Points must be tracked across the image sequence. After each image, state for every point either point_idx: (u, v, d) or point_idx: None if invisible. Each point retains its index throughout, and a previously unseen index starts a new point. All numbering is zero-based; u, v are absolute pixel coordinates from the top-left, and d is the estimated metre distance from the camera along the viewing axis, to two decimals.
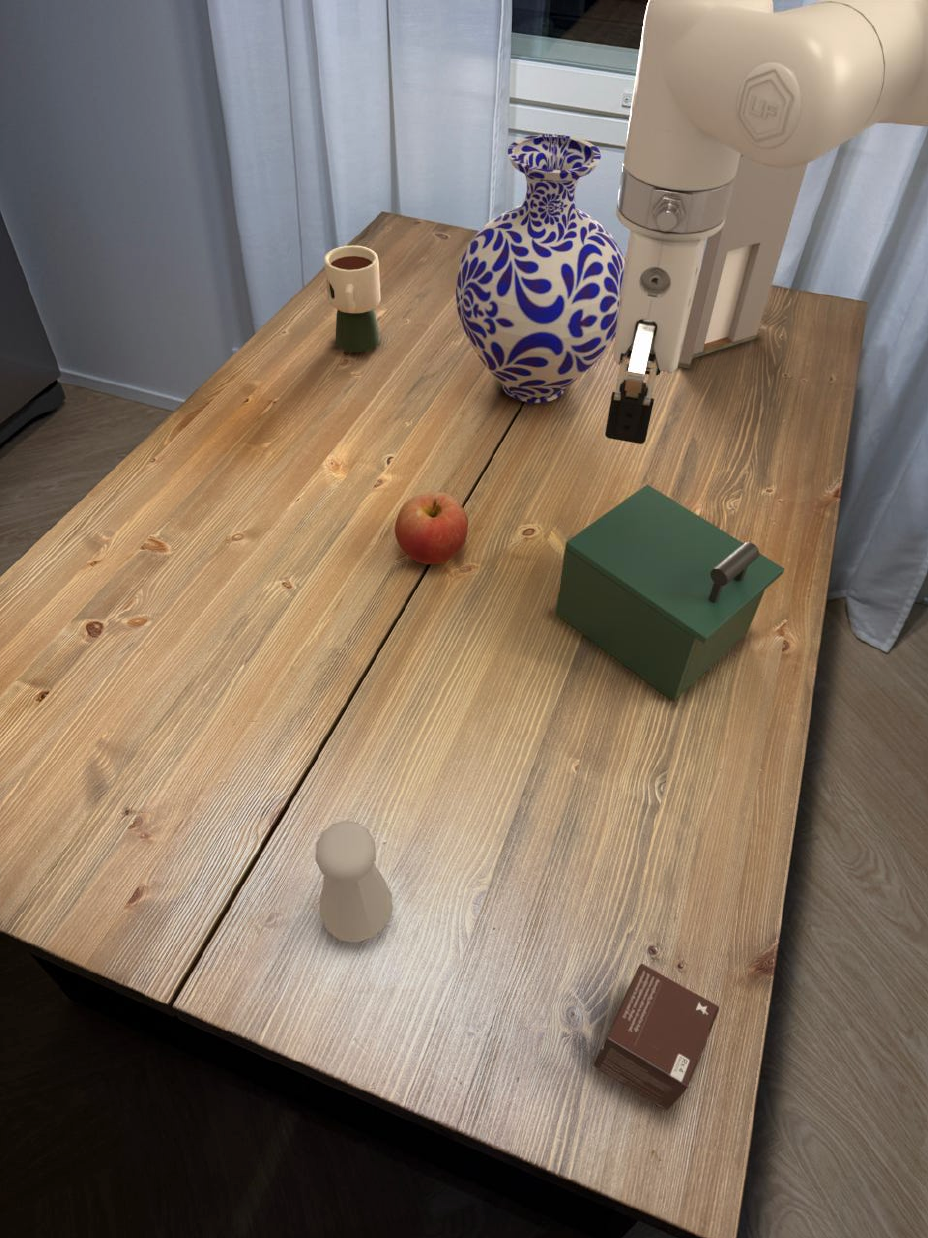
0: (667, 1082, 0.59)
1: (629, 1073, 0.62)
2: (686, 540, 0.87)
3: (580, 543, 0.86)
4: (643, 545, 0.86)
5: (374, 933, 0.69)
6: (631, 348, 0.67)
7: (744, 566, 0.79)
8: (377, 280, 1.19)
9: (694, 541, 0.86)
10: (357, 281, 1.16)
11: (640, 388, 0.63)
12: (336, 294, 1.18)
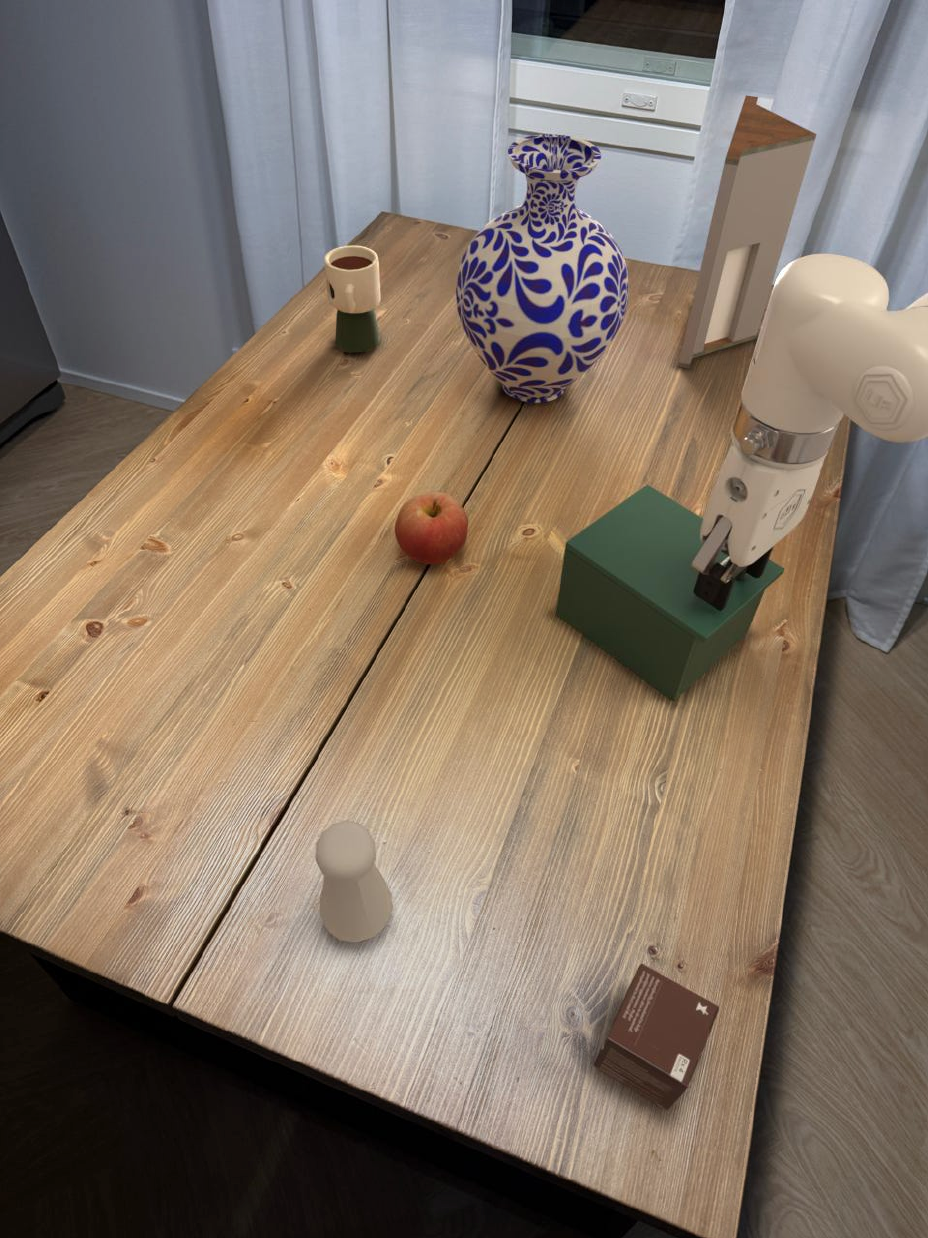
0: (667, 1082, 0.59)
1: (629, 1073, 0.62)
2: (686, 540, 0.87)
3: (580, 543, 0.86)
4: (643, 545, 0.86)
5: (374, 933, 0.69)
6: None
7: (744, 566, 0.79)
8: (377, 280, 1.19)
9: (694, 541, 0.86)
10: (357, 281, 1.16)
11: (705, 574, 0.74)
12: (336, 294, 1.18)
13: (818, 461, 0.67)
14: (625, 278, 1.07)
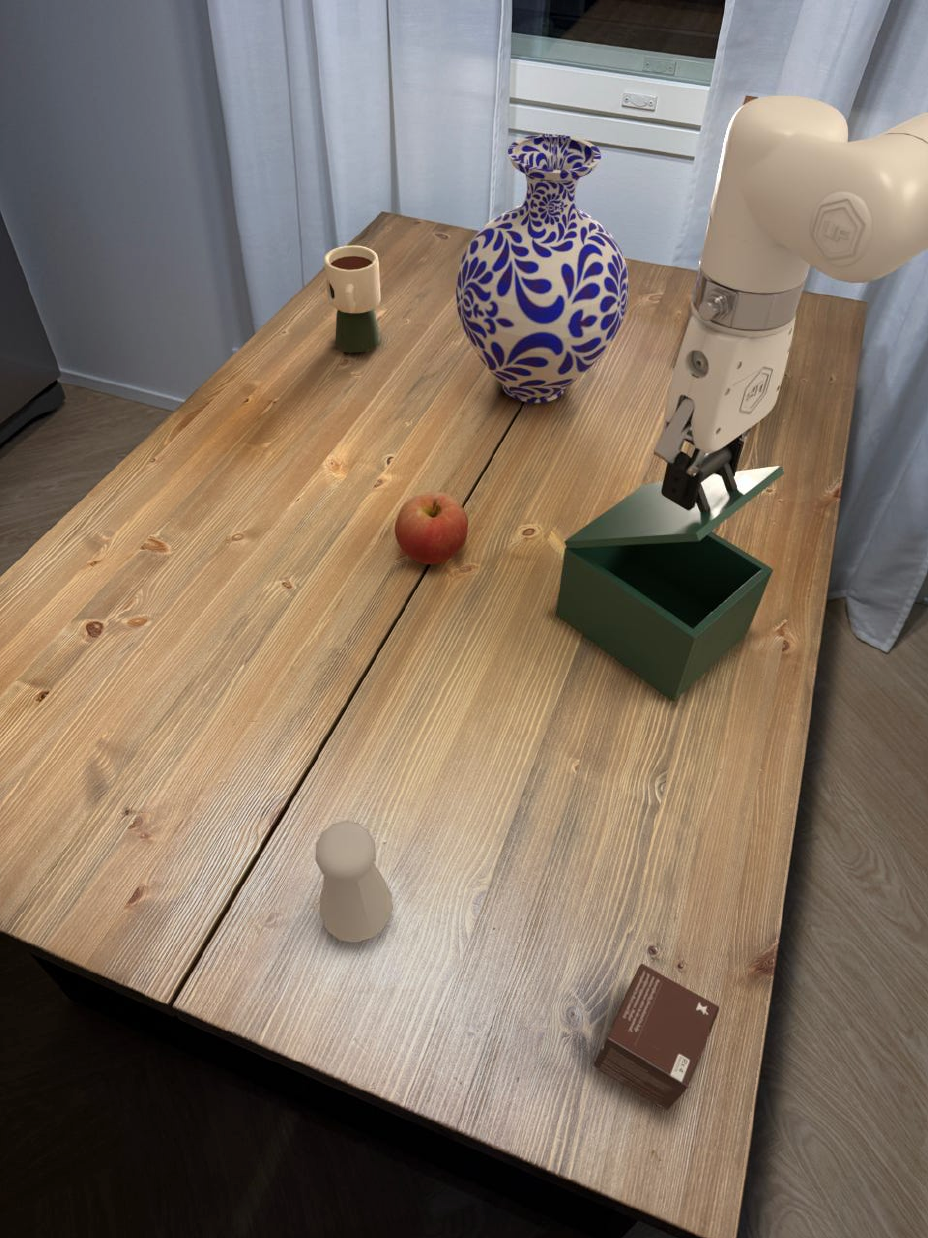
0: (667, 1082, 0.59)
1: (629, 1073, 0.62)
2: None
3: (577, 536, 0.86)
4: (638, 512, 0.84)
5: (374, 933, 0.69)
6: None
7: (714, 461, 0.76)
8: (377, 280, 1.19)
9: None
10: (357, 281, 1.16)
11: (669, 462, 0.70)
12: (336, 294, 1.18)
13: (782, 329, 0.64)
14: (625, 278, 1.07)
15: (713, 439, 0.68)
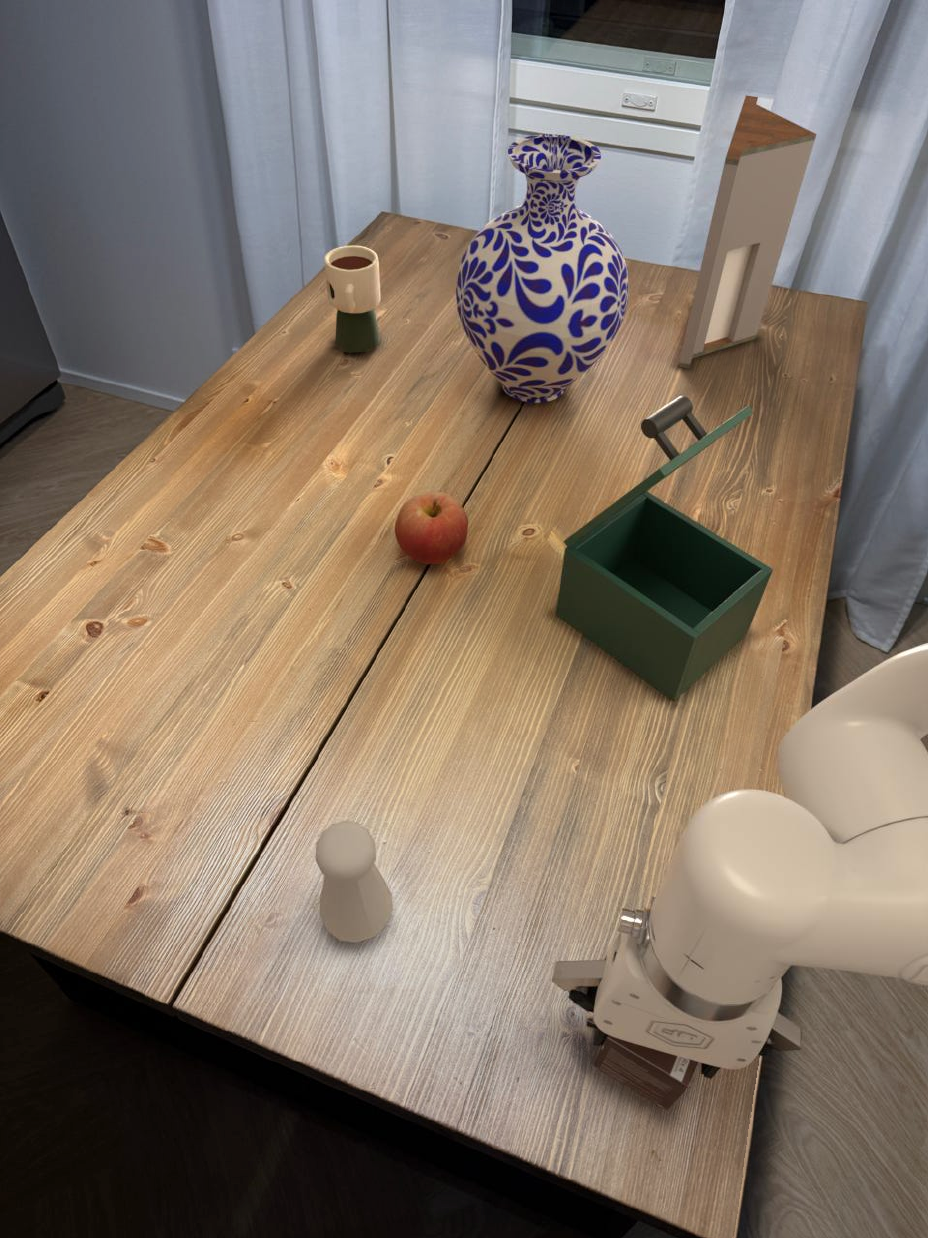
0: (667, 1082, 0.59)
1: (629, 1072, 0.62)
2: None
3: None
4: None
5: (374, 933, 0.69)
6: None
7: (672, 409, 0.76)
8: (377, 280, 1.19)
9: None
10: (357, 281, 1.16)
11: (559, 986, 0.59)
12: (336, 294, 1.18)
13: (689, 1017, 0.49)
14: (625, 278, 1.07)
15: (601, 1023, 0.56)
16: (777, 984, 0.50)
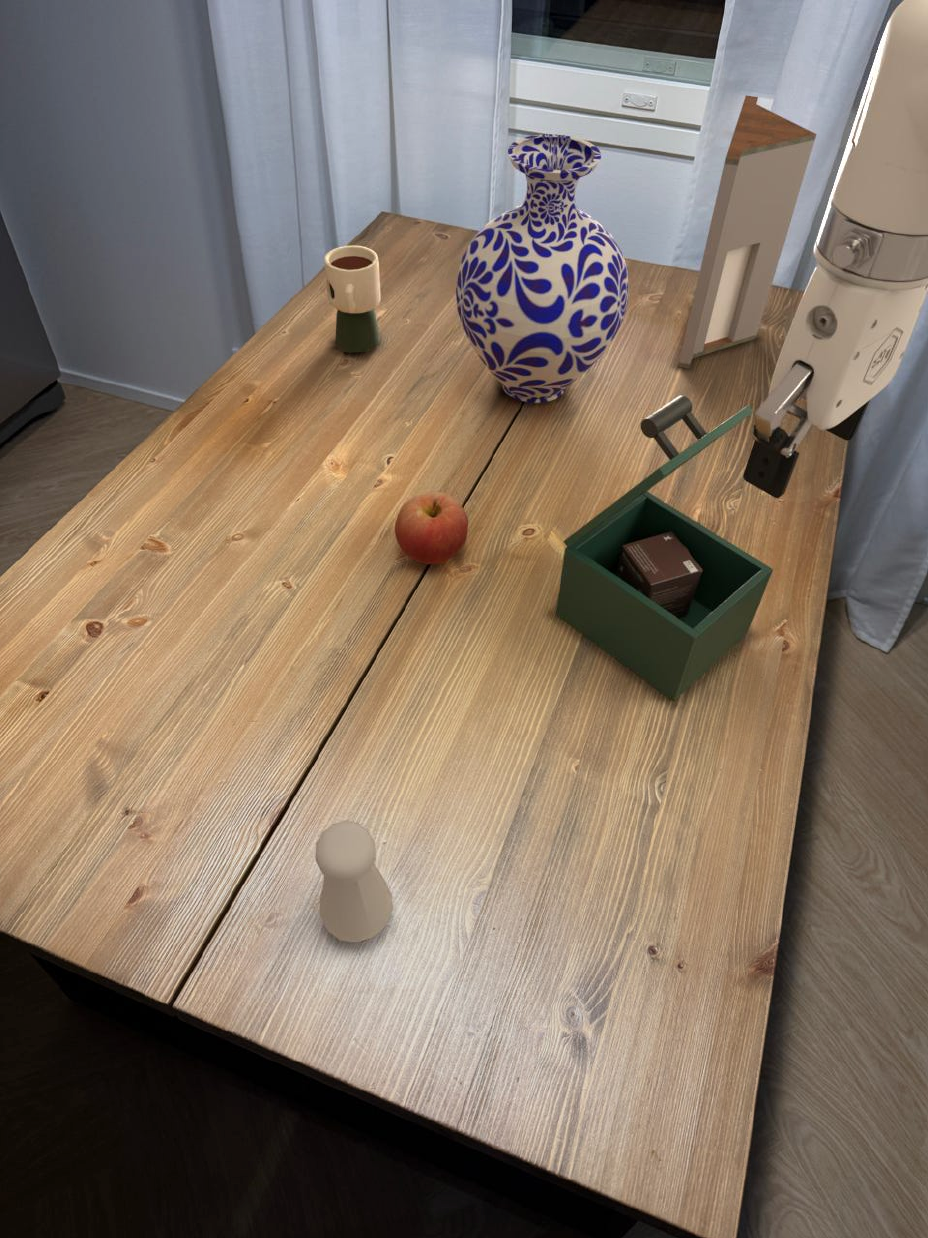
0: (689, 582, 0.88)
1: (664, 605, 0.90)
2: None
3: None
4: None
5: (374, 933, 0.69)
6: None
7: (671, 409, 0.76)
8: (377, 280, 1.19)
9: None
10: (357, 281, 1.16)
11: (769, 431, 0.58)
12: (336, 294, 1.18)
13: None
14: (625, 278, 1.07)
15: (832, 413, 0.58)
16: None
